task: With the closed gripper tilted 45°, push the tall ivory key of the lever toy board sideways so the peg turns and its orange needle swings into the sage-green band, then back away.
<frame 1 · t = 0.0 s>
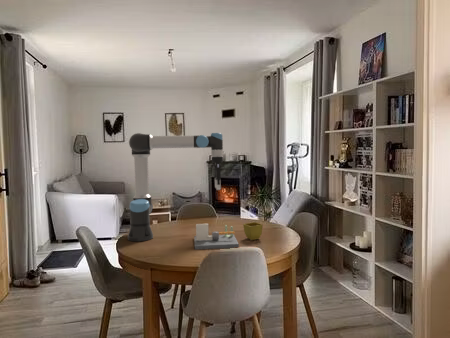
hand: (217, 188, 237), 28 cm above the table, tool pointing down, fingers open, 13 cm apart
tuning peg: (215, 231, 205), point 7 cm above the table, hinge at 0.0°
flower pot: (253, 239, 215), on the table
lever toy board: (215, 243, 206), on the table
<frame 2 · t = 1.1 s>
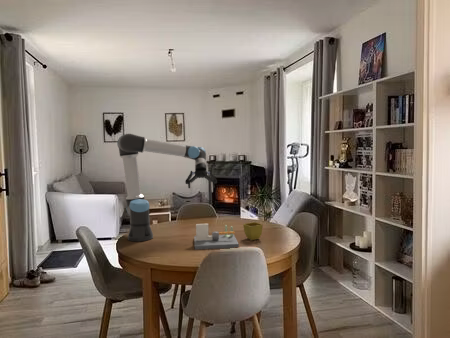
hand: (201, 191, 226), 28 cm above the table, tool tilted 45°, fingers open, 13 cm apart
nothing on the table moved.
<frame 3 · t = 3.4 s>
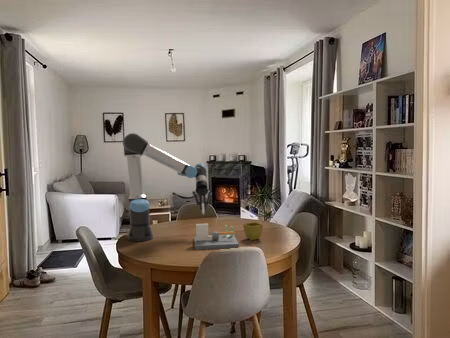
hand: (203, 213, 221), 15 cm above the table, tool tilted 45°, fingers closed
nothing on the table moved.
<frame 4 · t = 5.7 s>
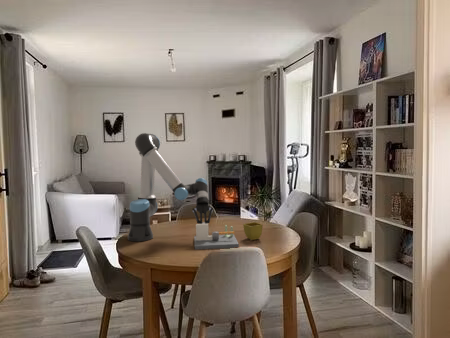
hand: (204, 232, 207), 6 cm above the table, tool tilted 45°, fingers closed
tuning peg: (215, 231, 205), point 7 cm above the table, hinge at 0.4°, touching gripper
everything else where it was.
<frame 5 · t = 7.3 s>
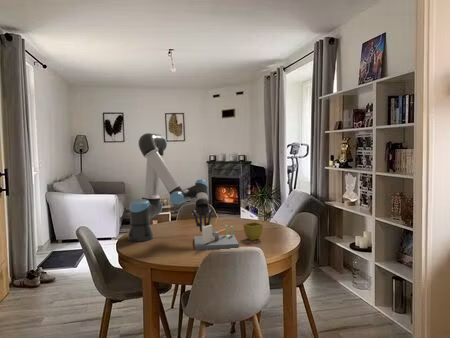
hand: (203, 236, 200), 6 cm above the table, tool tilted 45°, fingers closed
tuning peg: (215, 231, 205), point 7 cm above the table, hinge at 50.6°, touching gripper
everything else where it was.
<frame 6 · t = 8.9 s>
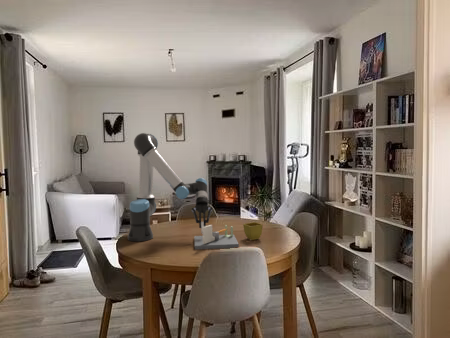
hand: (202, 232, 209), 6 cm above the table, tool tilted 45°, fingers closed
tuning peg: (215, 231, 205), point 7 cm above the table, hinge at 50.6°
everything else where it was.
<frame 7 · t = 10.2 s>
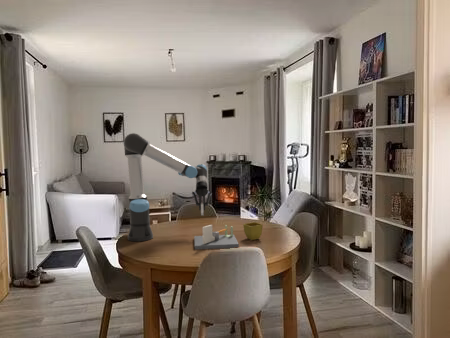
hand: (202, 214, 220), 14 cm above the table, tool tilted 45°, fingers closed
nothing on the table moved.
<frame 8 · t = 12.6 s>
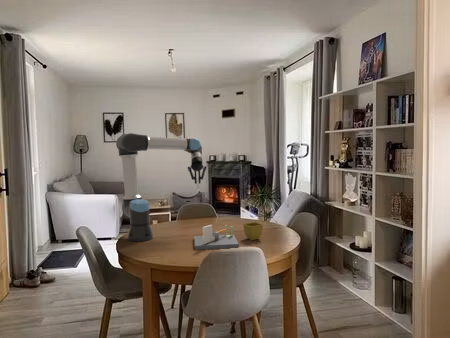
hand: (197, 186, 230), 30 cm above the table, tool tilted 45°, fingers closed
nothing on the table moved.
at the end: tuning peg at +51° (first picture: +0°); flower pot moved 0.2 cm from its start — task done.
